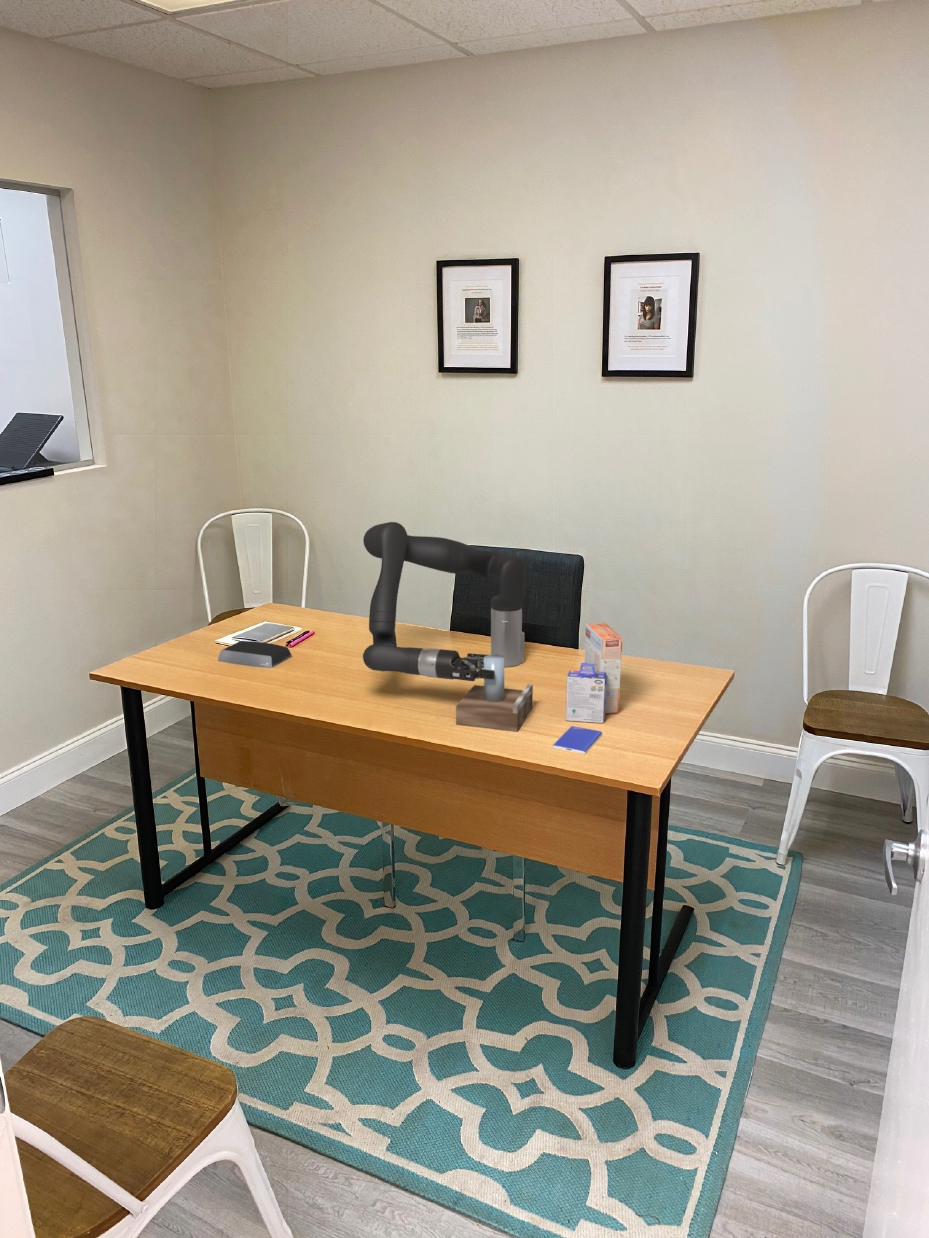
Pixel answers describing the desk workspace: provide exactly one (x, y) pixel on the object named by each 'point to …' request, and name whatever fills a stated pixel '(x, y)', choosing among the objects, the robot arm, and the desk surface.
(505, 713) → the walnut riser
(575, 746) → the hard drive
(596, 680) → the ink cartridge box
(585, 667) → the cracker box
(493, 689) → the pale blue cylinder
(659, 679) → the desk surface
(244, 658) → the external hard drive
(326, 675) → the desk surface
